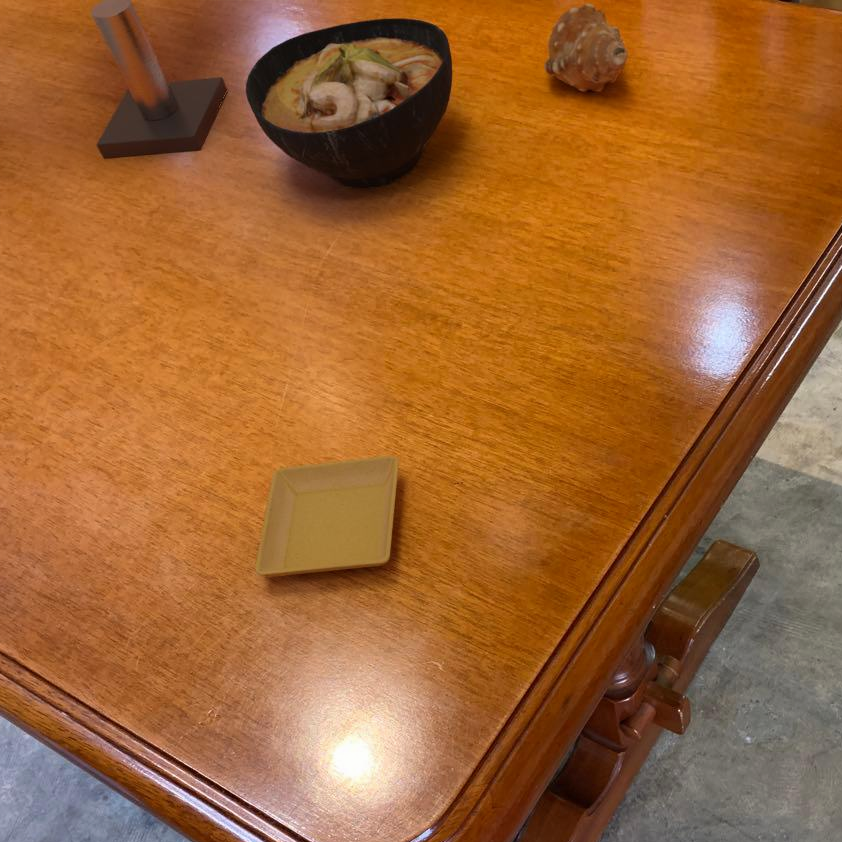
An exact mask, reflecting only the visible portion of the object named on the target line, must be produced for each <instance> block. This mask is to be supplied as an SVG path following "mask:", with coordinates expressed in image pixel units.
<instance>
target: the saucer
mask: <svg viewBox="0 0 842 842" xmlns="http://www.w3.org/2000/svg"><path fill="white" fill-rule="evenodd" d="M399 465H400V459H399V458H398V457H397V456H394V455H382V456H374V457H365V458H364V457H363V458H356V459H349V460H348V459H347V460H342V461H331V462H319V463H312V464H301V465H292V466H291V465H290V466H282V467H280V468H277V469H276V470H275V471H274V472H273V474H272V477H271V481H270V488H269V493H268V497H267V503H266V509H265V514H264V520H263V525H262V530H261V535H260V540H259V545H258V550H257V554H256V559H255V564H254V571H255V573H256V575H258V576H261V577H282V576H292V575H301V574H310V573H322V572H332V571H340V570H352V569H362V568H371V567H379V566H383V565H386V564H387V563H388V561H389V560H390V558H391V549H392V537H393V525H394V515H395V505H396V503H395V502H396V496H397V495H396V494H397V486H398V485H397V484H398V475H399Z"/></svg>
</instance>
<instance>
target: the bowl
mask: <svg viewBox="0 0 842 842" xmlns="http://www.w3.org/2000/svg"><path fill="white" fill-rule="evenodd" d="M449 42H450V41H449V39H448V37H447V33H445V31H444V30H443V29H442V28H440V27H439V26H437V24H433V23H431V22H428V21H425V20H421V19H415V18H414V19H413V18H403V17H401V18H397V17H396V18H376V19H367V20H360V21H355V22H350V23H343V24H338V25H333V26H329V27H326V28H320V29H317V30H313V31H308V32H305V33H301V34H299V35H297V36H294V37H291V38H289V39H286V40H284V41H282V42H280V43H278V44H277V45H275V46H273V47H271V48H270V49H269V50H268V51H267V52H265V53H264V54H263V55H262V56H261V57H260V58H259V59H258V60H257V61H256V62H255V64H254V65H253V66H252V68H251V70H250V72H249V74H248V76H247V79H246V82H245V95H246V99H247V102H248V104H249V107H250V109H251V111H252V113H253V115H254V117H255V120H256V121H257V123H258V125H259V127H260V128H261V129H262V131H263V132H264V133H263V134H265V136H266V137H267V138H268V139H269V140H270V141H271V142H272V143H273V144H274V145H275V146H276V147H277V148H279V149H280V150H281V151H282V152H283V153H285V154H286V155H287V156H288V157H289V158H291V159H293V160H295V161H296V162H298V163H300V164H302V165H303V166H305V167H307V168H309V169H311V170H313V171H317V172H319V173H321V174H325V175H328V176H329V177H330V178H331V179H332V180H334V182H335V183H338V184H339V185H341V186H343V187H346V188H351V189H359V190H364V189H365V190H367V189H374V188H380V187H383V186H387V185H390V184H392V183H394V182H397V181H399V180H401V179H402V178H404V177H405V176H408V175H409V174H410V173H411V172H412V171H413V170H414V169H415V168H416V167H417V166H418V164H419V162H420V161H421V160H422V157H423V153H424V149H425V146H426V145H427V144H428V143H429V141H430V139H432V137H433V136H434V134H435V132H436V130H437V129H438V128H439V127H438V126H439V124H440V123H441V121H442V119H443V117H444V116H445V114H446V111H447V108H448V106H449V102H450V99H451V92H452V87H453V58H452V53H451V47H450V43H449Z"/></svg>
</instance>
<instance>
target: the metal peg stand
mask: <svg viewBox="0 0 842 842" xmlns="http://www.w3.org/2000/svg"><path fill="white" fill-rule="evenodd" d="M90 14H91V16H92V19H93V20H94V22H95V24H96V26H97V28H98V30H99V32H100V34H101V37H102V38H103V40H104V42H105V45H106V46H107V48H108V50H109V52H110V54H111V56H112V59H113V60H114V62H115V64H116V67H117V68H118V71H119V73H120V75H121V76H122V78H123V80H124V83H125V84H126V86H127V90H126V92H125V93H124V95H123V97H122V99H121V101H120V102H119V104H118V106H117V107H116V109H115V110H114V113H113V115H112V116H111V118H110V119H109V121H108V123H107V125H106V127H105V128H104V130H103V132H102V134H101V136H100V137H99V139H98V141H97V142H96V147H97V149H98V151H99V152H100V154H101V156H102V158H103V159H111V158H122V157H132V156H146V155H156V154H157V155H158V154H166V153H167V154H168V153H169V154H170V153H179V152H190V151H191V152H192V151H200V150H201V149H202V148H203V147H202V146H203V145H204V142H205V140H206V138H207V136H208V134H209V132H210V130H211V127H212V126H213V124H214V121H215V119H216V117H217V115H216V113H217V110H218V109H219V110H220V108H219V106H220V104H221V102H222V100H223V97H224V95H225V93H226V91H227V90H228V88H227V85H226V83H225V80H224V79H223V77H222V76H218V77H209V78H200V79H189V80H179V81H168V79H167V76H166V74H165V72H164V70H163V67H162V66H161V63H160V62H159V59H158V57H157V55H156V53H155V51H154V48H153V46H152V44H151V42H150V40H149V38H148V35H147V34H146V31H145V29H144V27H143V25H142V22H141V20H140V18H139V16H138V14H137V12H136V10H135V8H134V6H133V3H132V1H131V0H102V1H100V2H99V3H97V4H95V5H94V6H93V8H91V11H90ZM227 92H228V91H227ZM226 94H227V93H226ZM225 96H226V95H225ZM223 101H224V100H223ZM222 103H223V102H222ZM221 105H222V104H221ZM220 107H221V106H220ZM219 110H218V111H219ZM217 114H218V113H217ZM215 116H216V117H215Z"/></svg>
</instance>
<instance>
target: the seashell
mask: <svg viewBox="0 0 842 842" xmlns="http://www.w3.org/2000/svg"><path fill="white" fill-rule="evenodd" d="M547 44H548V56H549V58H548V59H547V60H546V61H545V62H544V67H543V68H544V72H545V73H546V74H547V75H548V76H551V77H553V76H556V78H557V79H558V80H560V81H562V82H564V83H566V84H567V85H569V86H571V87H575V88H576V89H577V90H578V91H580V92H587V91H588V90H592V91H594V92H600V91H602V90H603V89H604V86H605V85H606V84H607V83H611V84H612V83H614V82H615V81H616V80H617V78H618V75H619V74H620V72H621V71H622V69H623V68H624V67H625V64H626V62H627V59H628V51H627V47H626V44H625V43H624V41H623V38H622V37H621V33H620V29H619V28H618V26H614V25H613V26H612V25H610V24H609V23H608V22H607V19H606V13H605V12H604V11H603V10H602V9H598V10H597V9H596V8H595V6H594V5H593V4H590V3H585V4H583V5H582V6H581V7H578V6H575V7H571V8H570V9H568V10H565V11H564V12H563V13H562V14H561V15H560V18H558V20H557V21H555V22H554V24H553V27H552V30H551V34H550V35H549V37H548V41H547Z"/></svg>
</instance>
